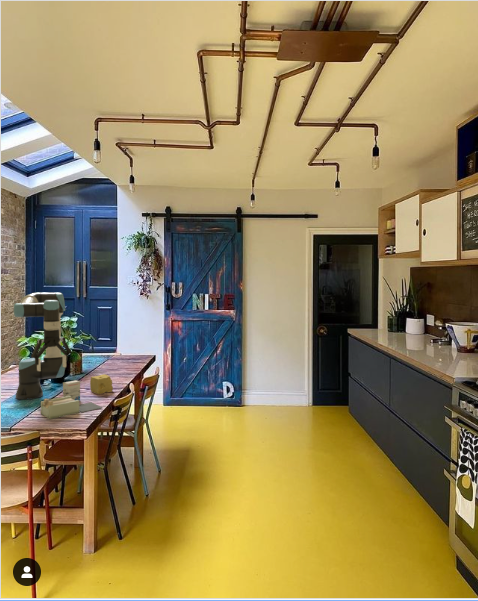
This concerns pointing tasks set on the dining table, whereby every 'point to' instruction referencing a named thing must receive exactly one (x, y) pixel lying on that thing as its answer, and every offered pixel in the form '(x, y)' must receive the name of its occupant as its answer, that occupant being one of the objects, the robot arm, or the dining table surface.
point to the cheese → (101, 384)
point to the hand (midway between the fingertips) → (51, 368)
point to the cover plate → (55, 402)
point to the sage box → (60, 408)
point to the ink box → (72, 389)
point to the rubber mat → (88, 407)
